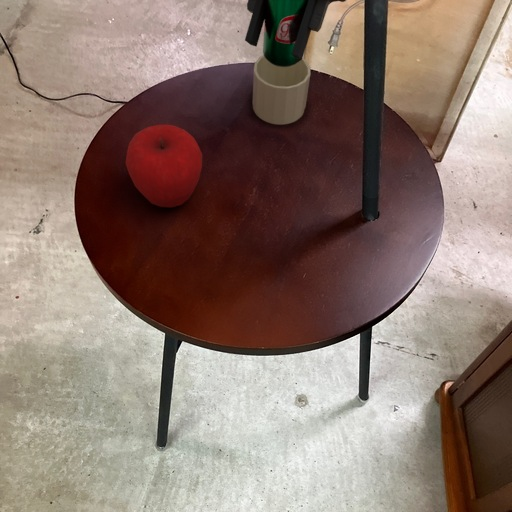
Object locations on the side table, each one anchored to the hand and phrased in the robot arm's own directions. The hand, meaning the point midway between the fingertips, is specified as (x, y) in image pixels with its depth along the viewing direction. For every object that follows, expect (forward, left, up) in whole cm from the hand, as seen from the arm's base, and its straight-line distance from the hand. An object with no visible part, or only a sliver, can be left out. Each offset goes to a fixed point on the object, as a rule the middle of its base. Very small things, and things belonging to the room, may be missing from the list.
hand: (273, 49), depth 64 cm
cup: (-2, -11, -19) cm, 22 cm away
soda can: (-1, -3, -4) cm, 5 cm away
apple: (+13, +7, -19) cm, 24 cm away
